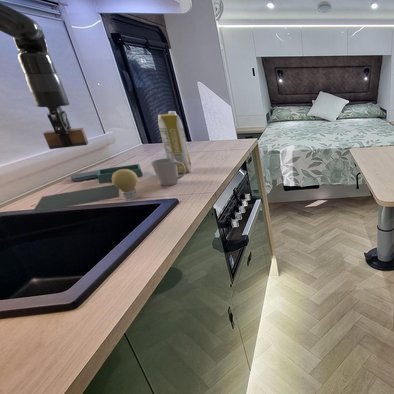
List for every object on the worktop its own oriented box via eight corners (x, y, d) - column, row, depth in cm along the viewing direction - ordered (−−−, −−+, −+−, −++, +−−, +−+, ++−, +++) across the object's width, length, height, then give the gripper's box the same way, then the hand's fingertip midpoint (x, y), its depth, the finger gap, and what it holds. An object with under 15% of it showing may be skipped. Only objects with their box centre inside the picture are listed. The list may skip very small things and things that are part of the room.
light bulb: (117, 200, 92) (106, 169, 88) (140, 194, 96) (131, 165, 93) (121, 205, 88) (111, 174, 84) (146, 199, 92) (137, 169, 89)
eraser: (49, 149, 90) (42, 133, 88) (52, 146, 94) (46, 131, 92) (87, 145, 95) (81, 129, 93) (88, 142, 99) (82, 127, 97)
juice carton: (193, 172, 119) (180, 111, 110) (171, 175, 115) (155, 113, 106) (190, 167, 126) (177, 109, 117) (169, 170, 122) (154, 111, 113)
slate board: (32, 215, 82) (31, 213, 82) (42, 198, 94) (42, 196, 94) (119, 198, 93) (119, 196, 93) (119, 185, 105) (118, 183, 105)
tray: (100, 184, 106) (96, 175, 105) (100, 178, 113) (97, 169, 111) (143, 177, 113) (140, 168, 112) (141, 172, 120) (139, 163, 119)
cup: (160, 181, 109) (154, 159, 105) (189, 178, 112) (184, 156, 108) (155, 188, 102) (148, 164, 99) (186, 184, 105) (181, 161, 102)
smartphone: (70, 174, 113) (117, 166, 122) (72, 178, 114) (119, 169, 123) (70, 179, 108) (119, 170, 117) (72, 183, 109) (121, 173, 117)
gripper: (35, 89, 91) (57, 143, 98) (24, 91, 81) (49, 151, 87) (67, 88, 95) (86, 140, 102) (60, 90, 85) (82, 147, 91)
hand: (69, 144), depth 95 cm, fingers closed on eraser, 5 cm apart
